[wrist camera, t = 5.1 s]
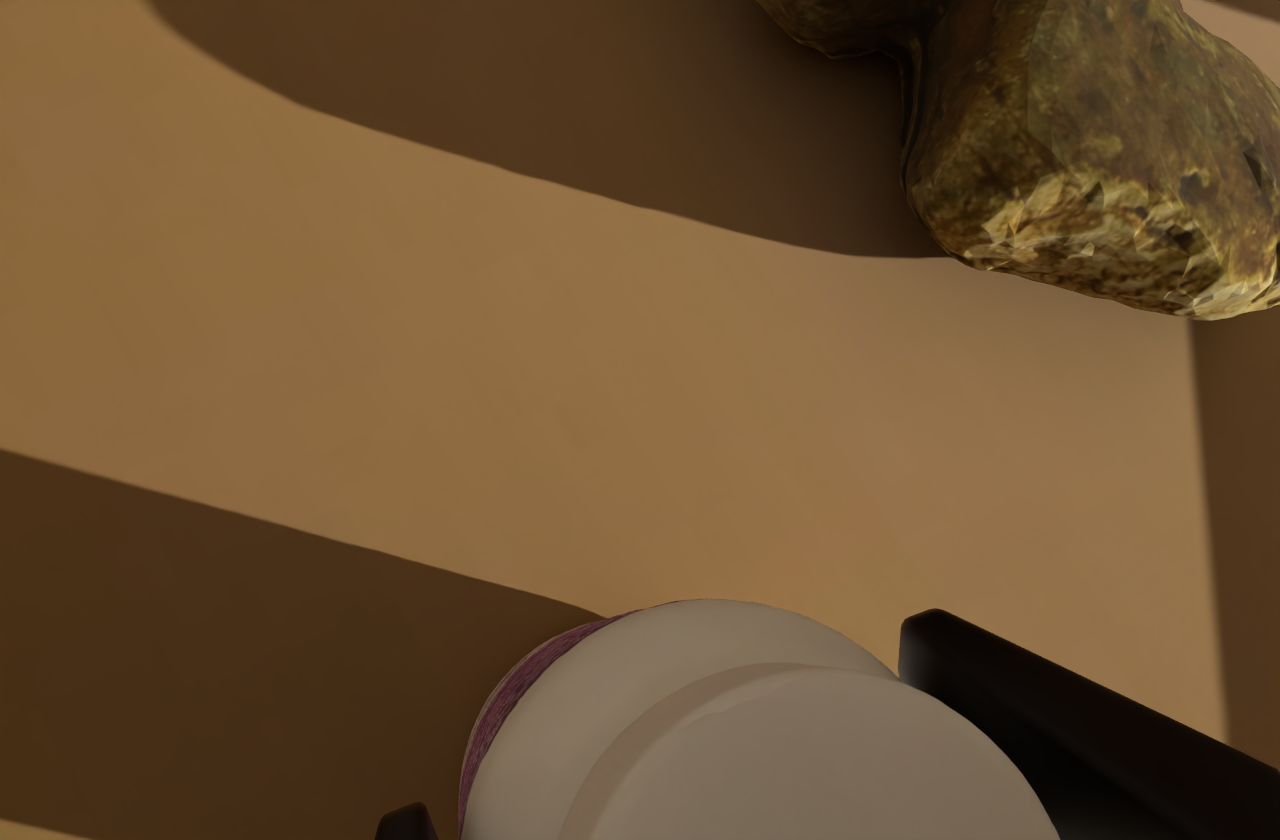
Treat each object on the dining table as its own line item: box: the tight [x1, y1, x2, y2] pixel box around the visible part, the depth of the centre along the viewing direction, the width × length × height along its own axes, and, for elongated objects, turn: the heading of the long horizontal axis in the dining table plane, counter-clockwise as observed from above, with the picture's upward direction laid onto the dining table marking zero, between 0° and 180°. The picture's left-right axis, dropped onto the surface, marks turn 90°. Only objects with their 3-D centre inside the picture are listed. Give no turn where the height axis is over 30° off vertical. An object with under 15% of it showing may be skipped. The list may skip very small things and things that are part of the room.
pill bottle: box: [458, 599, 1060, 840], centre depth 11 cm, size 5×5×10 cm
